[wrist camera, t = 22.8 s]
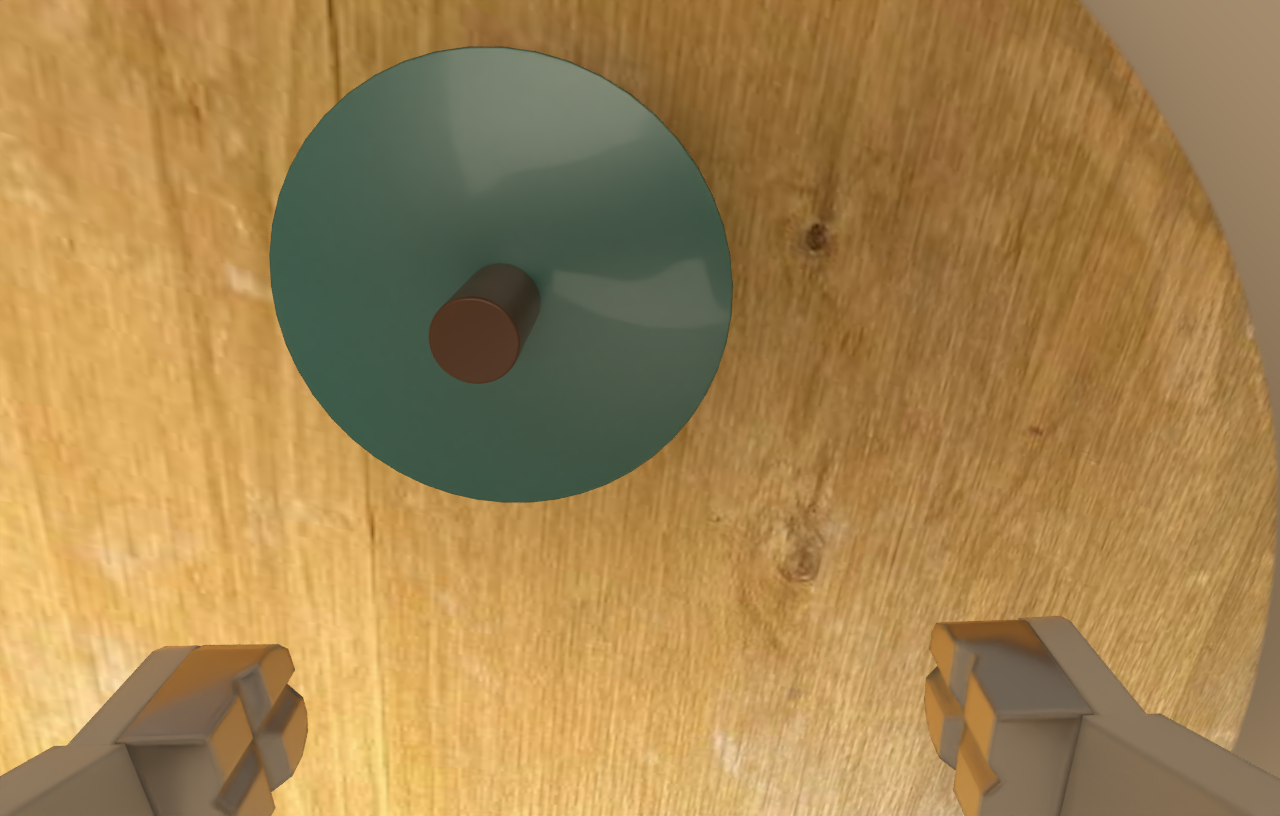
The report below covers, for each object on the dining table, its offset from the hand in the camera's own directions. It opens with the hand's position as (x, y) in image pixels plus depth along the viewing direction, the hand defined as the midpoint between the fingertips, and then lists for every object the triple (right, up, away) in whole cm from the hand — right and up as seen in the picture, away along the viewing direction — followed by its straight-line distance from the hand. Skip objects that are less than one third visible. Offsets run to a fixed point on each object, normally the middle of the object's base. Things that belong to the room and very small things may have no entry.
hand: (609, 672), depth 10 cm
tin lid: (-4, +7, +15) cm, 17 cm away
